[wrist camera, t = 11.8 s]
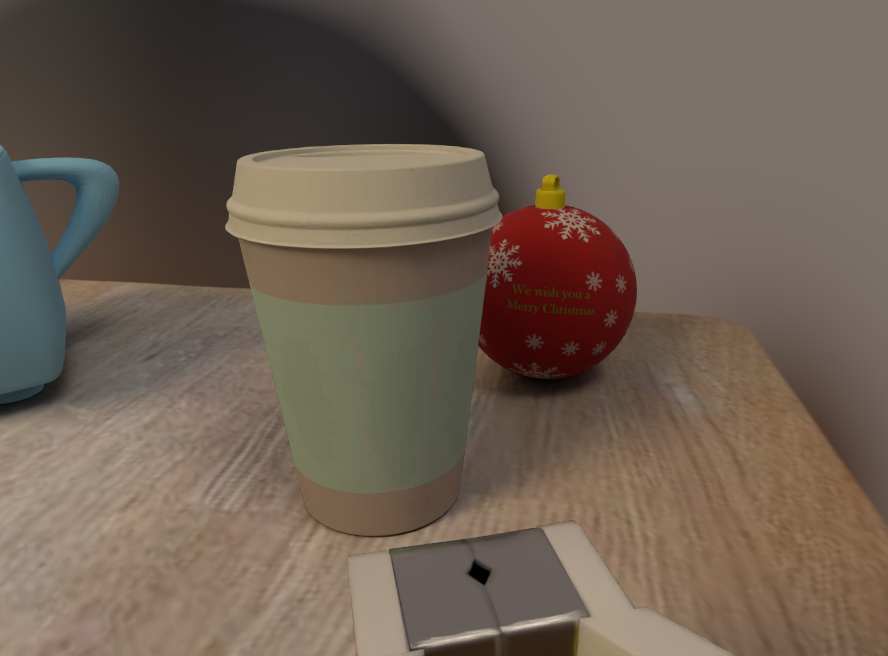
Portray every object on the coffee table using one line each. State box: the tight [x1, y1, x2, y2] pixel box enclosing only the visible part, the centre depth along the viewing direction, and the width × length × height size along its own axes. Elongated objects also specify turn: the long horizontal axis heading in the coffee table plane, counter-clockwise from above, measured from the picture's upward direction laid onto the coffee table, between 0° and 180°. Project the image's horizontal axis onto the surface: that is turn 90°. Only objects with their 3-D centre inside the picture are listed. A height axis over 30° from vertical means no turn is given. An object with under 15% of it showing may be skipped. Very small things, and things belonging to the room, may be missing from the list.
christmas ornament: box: [478, 174, 637, 379], centre depth 32 cm, size 9×9×10 cm
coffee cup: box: [226, 144, 502, 536], centre depth 22 cm, size 9×8×12 cm
